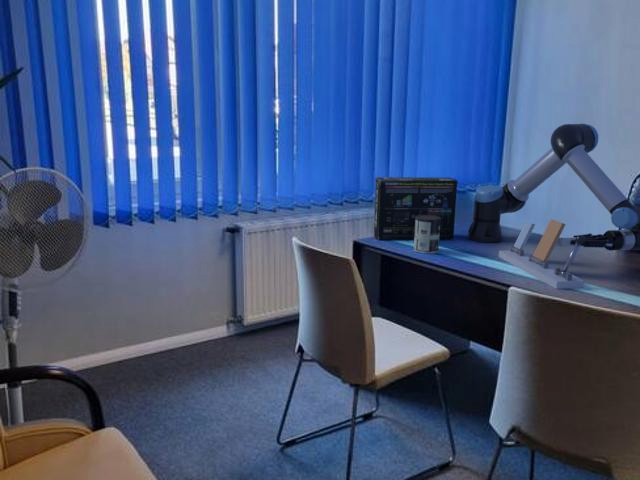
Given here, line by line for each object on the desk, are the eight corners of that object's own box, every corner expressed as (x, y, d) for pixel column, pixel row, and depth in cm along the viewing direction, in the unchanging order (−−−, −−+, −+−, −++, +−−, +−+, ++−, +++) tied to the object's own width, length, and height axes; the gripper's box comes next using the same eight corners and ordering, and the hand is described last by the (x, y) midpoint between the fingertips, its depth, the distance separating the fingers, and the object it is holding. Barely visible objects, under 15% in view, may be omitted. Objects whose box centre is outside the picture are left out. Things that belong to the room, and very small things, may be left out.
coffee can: (436, 247, 234) (438, 214, 230) (440, 254, 224) (443, 220, 220) (411, 246, 234) (413, 214, 230) (415, 253, 224) (417, 219, 220)
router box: (446, 234, 257) (451, 177, 251) (454, 240, 247) (460, 180, 240) (371, 234, 254) (373, 176, 247) (375, 240, 243) (378, 179, 236)
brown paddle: (533, 261, 207) (554, 220, 205) (545, 267, 200) (566, 224, 197) (529, 259, 207) (550, 218, 204) (541, 265, 200) (562, 223, 197)
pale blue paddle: (514, 251, 220) (528, 222, 218) (521, 254, 216) (536, 225, 214) (510, 250, 220) (525, 220, 218) (517, 253, 215) (532, 223, 213)
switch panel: (521, 255, 224) (522, 244, 223) (583, 287, 187) (585, 274, 185) (498, 256, 222) (499, 245, 221) (556, 288, 185) (558, 275, 184)
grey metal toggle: (560, 275, 192) (581, 235, 190) (569, 279, 187) (590, 238, 185) (554, 272, 191) (574, 232, 189) (562, 276, 186) (583, 235, 184)
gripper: (628, 254, 202) (570, 256, 197) (604, 245, 214) (549, 247, 210) (632, 234, 200) (573, 236, 196) (607, 226, 213) (551, 227, 208)
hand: (561, 241), depth 203 cm, fingers closed
